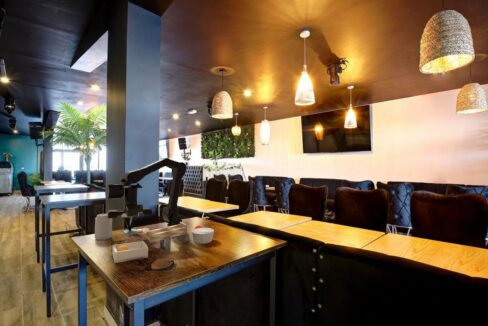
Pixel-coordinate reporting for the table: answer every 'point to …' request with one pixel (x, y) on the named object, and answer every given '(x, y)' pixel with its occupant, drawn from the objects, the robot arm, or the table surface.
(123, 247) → the ball
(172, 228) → the chute
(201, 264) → the table surface
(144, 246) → the bin
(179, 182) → the robot arm
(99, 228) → the can
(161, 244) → the pivot stand
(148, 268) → the bread roll
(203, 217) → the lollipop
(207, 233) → the ramekin
